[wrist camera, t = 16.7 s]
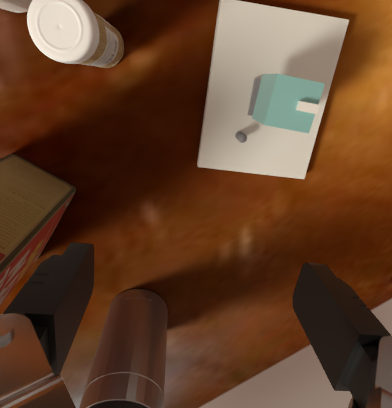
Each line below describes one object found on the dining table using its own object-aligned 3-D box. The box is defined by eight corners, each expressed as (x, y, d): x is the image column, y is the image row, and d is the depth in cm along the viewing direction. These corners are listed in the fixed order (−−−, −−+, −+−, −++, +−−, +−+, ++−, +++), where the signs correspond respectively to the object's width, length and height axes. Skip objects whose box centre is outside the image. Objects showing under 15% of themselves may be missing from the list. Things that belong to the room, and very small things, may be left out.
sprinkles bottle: (103, 12, 32) (54, -31, 19) (133, 49, 33) (107, 30, 21) (74, 43, 33) (10, 21, 20) (105, 78, 34) (63, 77, 22)
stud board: (299, 175, 40) (314, 187, 36) (197, 163, 39) (199, 174, 34) (342, 22, 33) (366, 13, 29) (219, 1, 32) (225, -12, 27)
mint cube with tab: (251, 118, 32) (265, 125, 27) (262, 74, 30) (279, 73, 25) (290, 125, 32) (311, 134, 27) (303, 83, 31) (328, 83, 26)
